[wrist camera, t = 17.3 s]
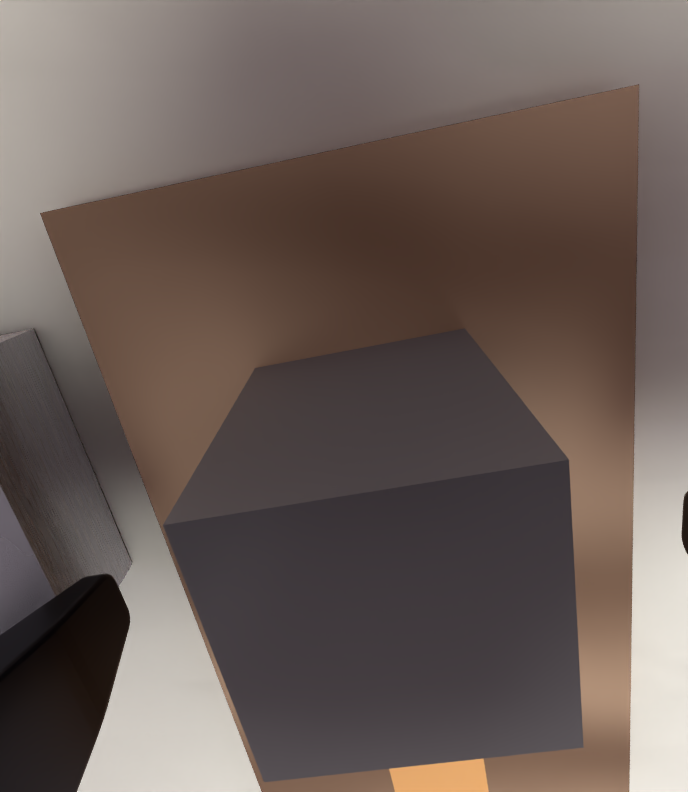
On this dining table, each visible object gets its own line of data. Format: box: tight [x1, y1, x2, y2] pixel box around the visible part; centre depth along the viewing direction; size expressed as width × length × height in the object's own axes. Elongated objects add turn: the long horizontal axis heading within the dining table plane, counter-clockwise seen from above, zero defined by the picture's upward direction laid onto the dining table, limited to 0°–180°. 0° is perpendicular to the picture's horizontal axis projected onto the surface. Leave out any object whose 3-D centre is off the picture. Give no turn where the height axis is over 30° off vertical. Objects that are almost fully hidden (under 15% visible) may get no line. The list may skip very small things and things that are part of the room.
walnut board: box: [40, 85, 639, 792], centre depth 12 cm, size 18×10×1 cm, turn 11°
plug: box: [163, 328, 584, 792], centre depth 9 cm, size 10×4×5 cm, turn 12°
